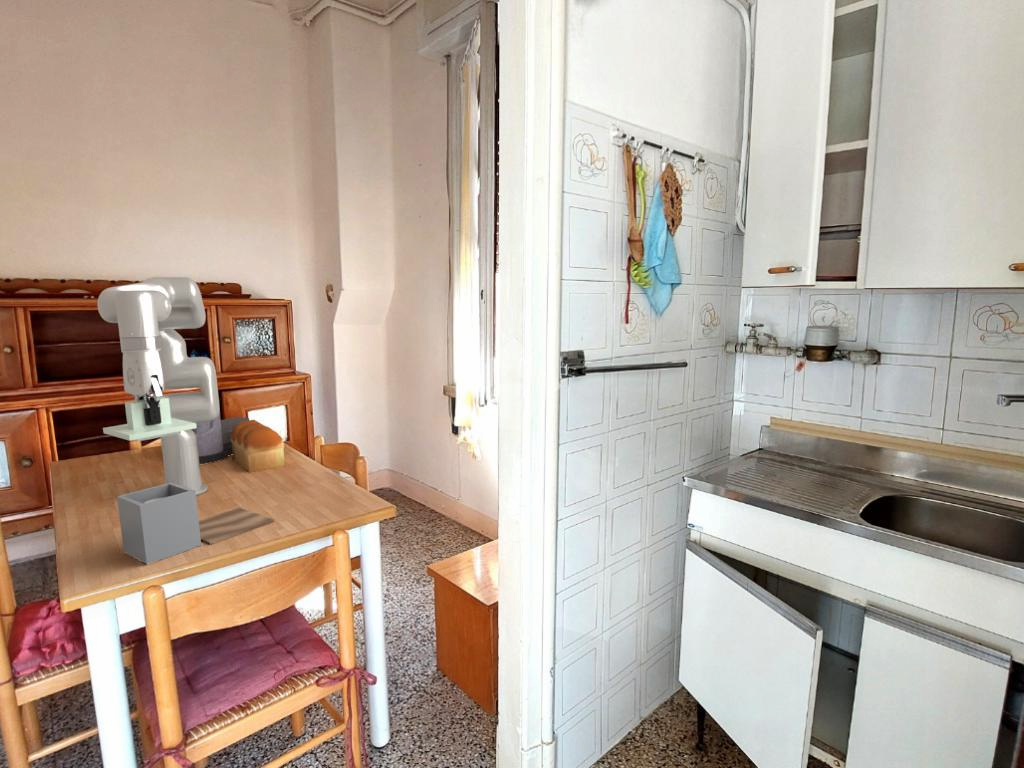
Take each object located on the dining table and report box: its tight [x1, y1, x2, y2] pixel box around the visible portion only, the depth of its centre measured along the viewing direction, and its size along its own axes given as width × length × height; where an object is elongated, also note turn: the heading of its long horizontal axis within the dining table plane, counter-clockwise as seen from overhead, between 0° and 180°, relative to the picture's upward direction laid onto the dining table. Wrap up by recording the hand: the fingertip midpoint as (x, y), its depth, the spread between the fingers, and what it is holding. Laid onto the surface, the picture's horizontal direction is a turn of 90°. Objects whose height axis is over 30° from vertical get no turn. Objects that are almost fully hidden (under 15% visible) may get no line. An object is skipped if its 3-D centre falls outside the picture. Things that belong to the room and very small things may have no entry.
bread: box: [230, 419, 286, 474], centre depth 206 cm, size 25×12×15 cm, turn 40°
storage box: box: [116, 482, 202, 565], centre depth 132 cm, size 12×12×14 cm
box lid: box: [102, 397, 197, 442], centre depth 128 cm, size 14×14×8 cm
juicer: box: [191, 411, 250, 465], centre depth 217 cm, size 30×16×24 cm, turn 156°
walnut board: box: [199, 507, 275, 545], centre depth 146 cm, size 17×17×1 cm
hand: (149, 422), depth 129 cm, fingers closed on box lid, 3 cm apart
